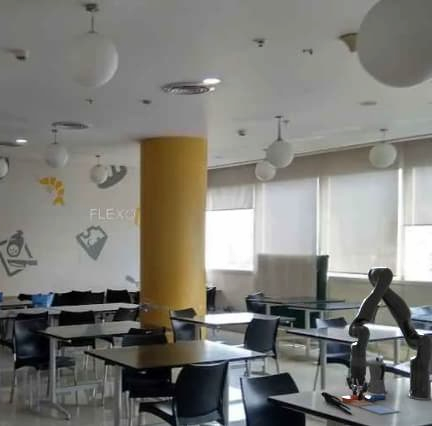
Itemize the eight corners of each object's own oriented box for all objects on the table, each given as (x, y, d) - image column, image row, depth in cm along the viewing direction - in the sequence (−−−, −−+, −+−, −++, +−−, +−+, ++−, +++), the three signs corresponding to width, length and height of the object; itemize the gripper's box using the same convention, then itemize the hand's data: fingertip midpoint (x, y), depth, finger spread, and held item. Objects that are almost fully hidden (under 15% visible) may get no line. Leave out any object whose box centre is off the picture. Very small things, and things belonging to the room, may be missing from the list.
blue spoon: (380, 397, 316) (380, 392, 317) (389, 400, 312) (389, 395, 312) (360, 399, 311) (360, 394, 311) (369, 402, 306) (369, 396, 306)
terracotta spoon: (360, 398, 311) (360, 392, 311) (368, 400, 306) (368, 395, 306) (339, 399, 305) (339, 394, 305) (347, 402, 300) (347, 397, 300)
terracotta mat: (352, 397, 314) (352, 396, 314) (374, 404, 302) (374, 403, 302) (335, 399, 309) (335, 398, 309) (356, 406, 297) (356, 405, 297)
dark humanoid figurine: (363, 399, 282) (334, 383, 306) (347, 405, 280) (319, 388, 305) (367, 416, 282) (338, 398, 307) (350, 422, 281) (322, 404, 305)
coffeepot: (363, 388, 338) (364, 355, 338) (380, 388, 337) (381, 355, 338) (374, 394, 322) (374, 360, 323) (392, 395, 322) (393, 361, 323)
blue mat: (378, 405, 300) (378, 404, 300) (398, 412, 289) (398, 411, 289) (359, 407, 295) (359, 406, 295) (380, 414, 284) (380, 413, 284)
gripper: (374, 367, 302) (374, 402, 302) (353, 361, 315) (352, 396, 314) (363, 368, 299) (362, 404, 298) (342, 362, 312) (341, 397, 311)
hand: (357, 399), depth 306 cm, fingers closed on terracotta spoon, 2 cm apart
